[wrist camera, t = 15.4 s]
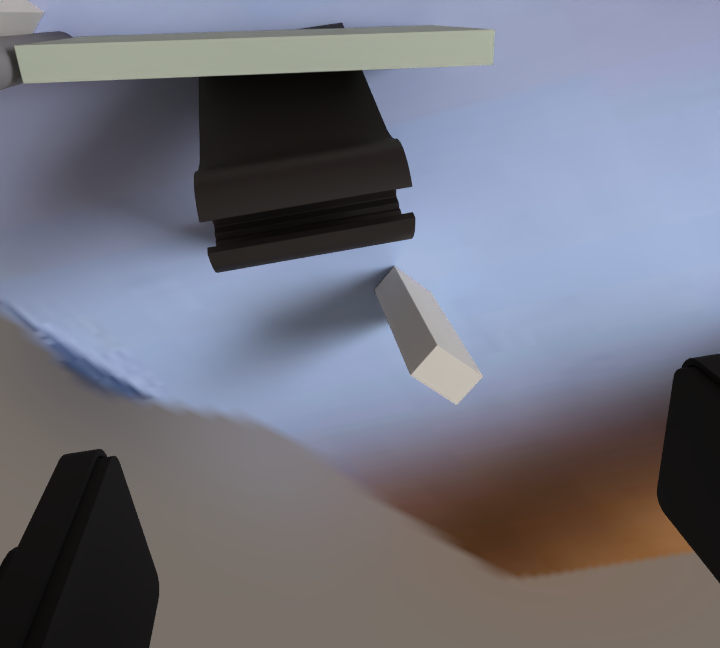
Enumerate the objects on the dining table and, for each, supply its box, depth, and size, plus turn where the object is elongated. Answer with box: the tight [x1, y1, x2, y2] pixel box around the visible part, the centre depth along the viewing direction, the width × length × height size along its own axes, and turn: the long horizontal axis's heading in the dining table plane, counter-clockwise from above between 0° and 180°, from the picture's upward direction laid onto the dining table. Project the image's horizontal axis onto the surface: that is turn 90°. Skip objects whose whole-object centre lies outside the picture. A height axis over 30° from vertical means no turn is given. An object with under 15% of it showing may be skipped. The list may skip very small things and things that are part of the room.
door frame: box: [0, 0, 483, 405], centre depth 24 cm, size 22×2×10 cm, turn 52°
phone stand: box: [194, 23, 415, 273], centre depth 23 cm, size 9×6×12 cm, turn 7°
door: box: [0, 25, 495, 90], centre depth 22 cm, size 16×1×9 cm, turn 92°
